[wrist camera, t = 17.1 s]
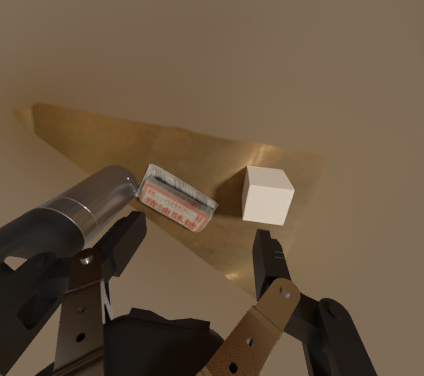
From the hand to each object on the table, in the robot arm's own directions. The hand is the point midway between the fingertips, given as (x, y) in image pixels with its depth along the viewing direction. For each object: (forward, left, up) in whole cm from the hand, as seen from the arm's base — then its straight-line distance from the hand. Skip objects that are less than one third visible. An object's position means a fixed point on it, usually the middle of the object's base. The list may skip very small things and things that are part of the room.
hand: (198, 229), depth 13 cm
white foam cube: (+7, -10, -26) cm, 29 cm away
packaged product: (-13, -12, -27) cm, 32 cm away
